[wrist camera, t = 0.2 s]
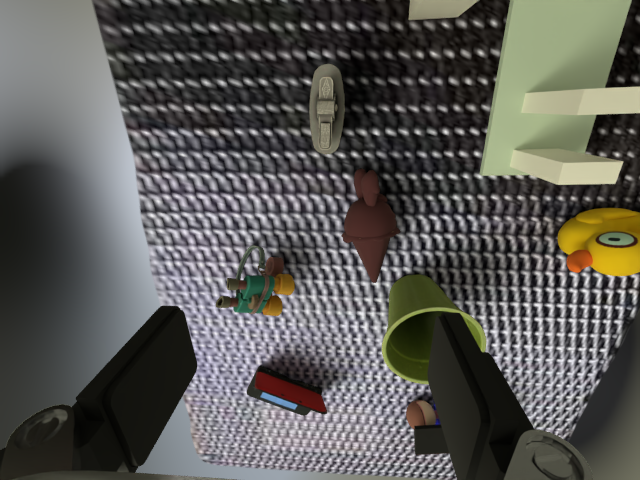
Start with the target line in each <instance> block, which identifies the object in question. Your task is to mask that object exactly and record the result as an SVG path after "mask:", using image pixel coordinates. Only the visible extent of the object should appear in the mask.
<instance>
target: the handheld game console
mask: <svg viewBox="0 0 640 480" xmlns="http://www.w3.org/2000/svg"><path fill="white" fill-rule="evenodd" d="M247 394H248V395H249V396H251V397H254V398H257V399H259V400H262V401H264V402H267V403H270V404H272V405H275V406H278V407H281V408H283V409H286V410H289V411H292V412H294V413H297V414H300V415H307V414H308V413H309V412H310V410H312V411H315V412H318V413H321V414H327V410H326V407H325V404H324V401H323V399H322V396H321V395H322V390H321V389H320V388H317V387H314V386H311V385H309V384H306V383H304V382H301V381H297V380H291V379H289V378H287V377H286V376H284V375H283V374H280V373H278V372H275V371H272V370H270V369H267V368H265V367H262V366H259V367H258V369H257V371H256V373H255V375H254V377H253V379H252V381H251V383H250V385H249V387H248V389H247Z"/></svg>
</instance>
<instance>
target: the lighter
mask: <svg viewBox="0 0 640 480" xmlns="http://www.w3.org/2000/svg"><path fill="white" fill-rule="evenodd" d="M344 111H345V108H344V90H343V82H342V76H341V73H340V71H339V69H338V68H337V67H335V66H334V65H330V64H325V65H322V66H320V67H318V69H317V70H316V71H315V73H314V77H313V83H312V88H311V95H310V111H309V112H310V128H311V134H312V140H313V145H314V148H315V149H316V150H317V151H318V152H320V153H321V154H331V153H333V152H334V151H335V150H336V149H337V148H338V146H339V142H340V137H341V133H342V128H343V120H344Z"/></svg>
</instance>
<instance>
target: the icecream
mask: <svg viewBox="0 0 640 480" xmlns="http://www.w3.org/2000/svg"><path fill="white" fill-rule="evenodd" d="M354 186H355V190H356V194H357V196H358V198H359V200H357V201H355V202H354V203H353V204H352V205H351V207H350V208H349V209H348V212H347V215H346V218H345V225H344V230H345V232H344V233H343V234H342V237H343V241H344V242H346V243H349V242H353V244H354V246H355V248H356V250H357V252H358V254H359V256H360V258H361V260H362V262H363V264H364V266H365V268H366V270H367V272H368V274H369V277H370V279H371V281H372V282H373V283H376V282H377V279H378V276H379V273H380V270H381V266H382V263H383V260H384V257H385V254H386V250H387V247H388V244H389V241H390V238H391V237H393V236H395V235H396V234H399V233H400V232H401V231H400V230H399V229H398V228H397V227H396V224H397V222H396V219H395V218H396V215H395V214H394V213H393V211H392V210H391V208H390V206H389V205H388V204H387V198H386V197H385V196H383V195H382V194H379V192H380V188H379V182H378V177H377V174H376V173H375V171H374V170H369V171H368V172H367V173H366V172H365V170H364V169H358V170H357V171H356V173H355V177H354Z"/></svg>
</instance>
